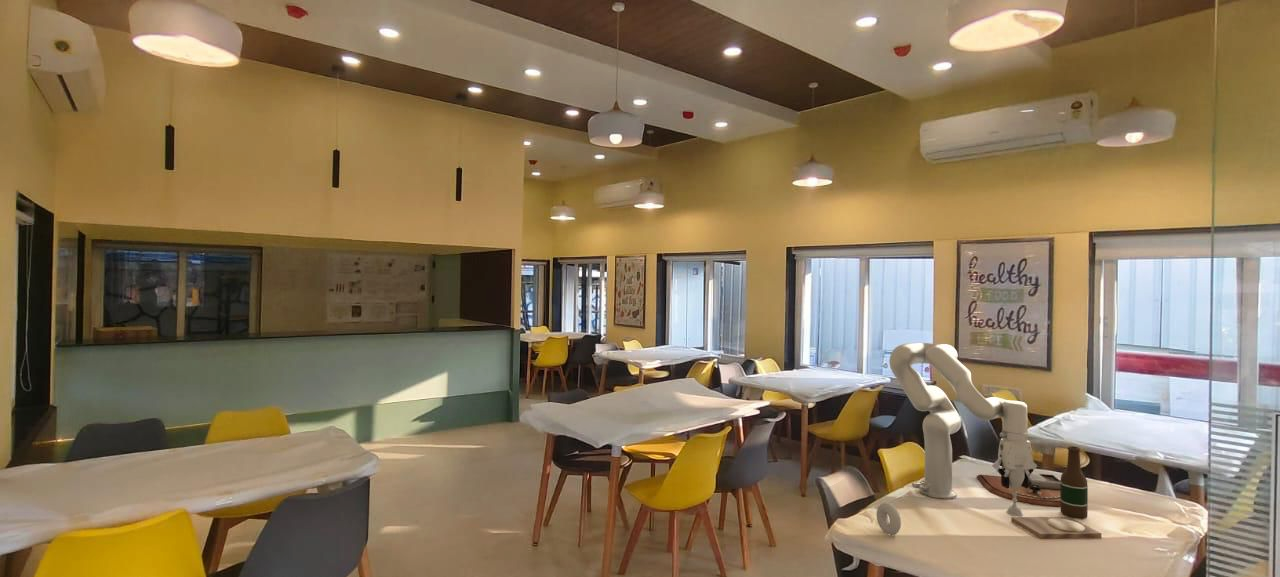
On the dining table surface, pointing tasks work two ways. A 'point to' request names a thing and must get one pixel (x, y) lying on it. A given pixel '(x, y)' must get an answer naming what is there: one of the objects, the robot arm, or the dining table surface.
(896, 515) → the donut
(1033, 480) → the wooden control board
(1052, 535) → the walnut board
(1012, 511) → the chalice
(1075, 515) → the beer bottle
